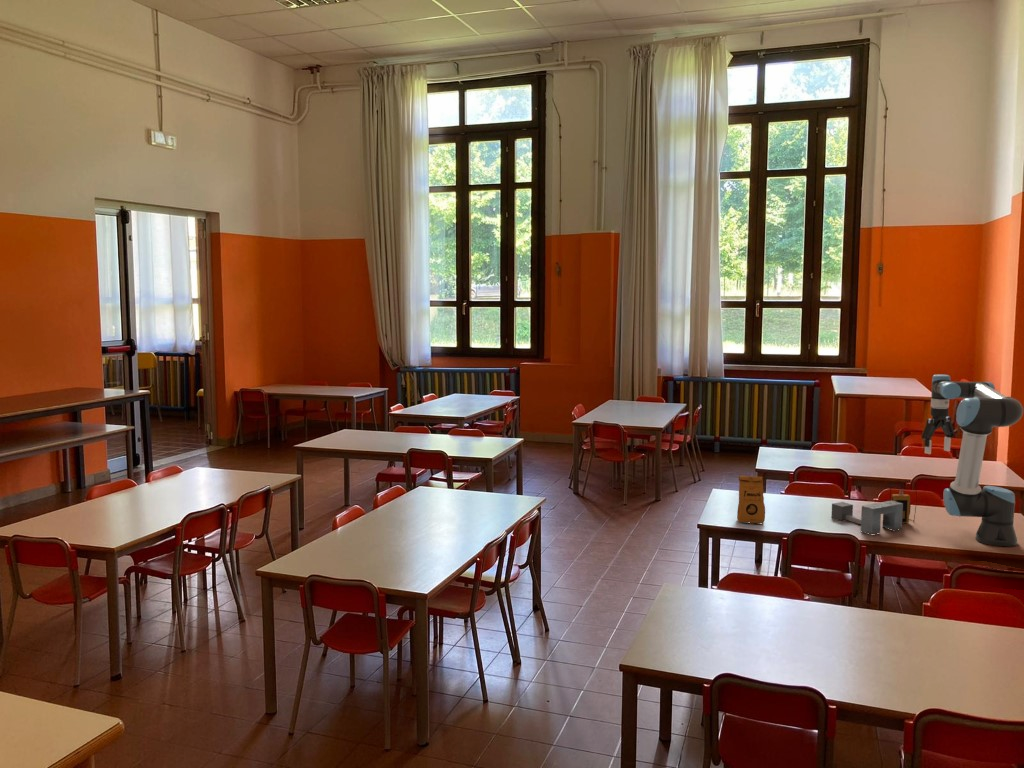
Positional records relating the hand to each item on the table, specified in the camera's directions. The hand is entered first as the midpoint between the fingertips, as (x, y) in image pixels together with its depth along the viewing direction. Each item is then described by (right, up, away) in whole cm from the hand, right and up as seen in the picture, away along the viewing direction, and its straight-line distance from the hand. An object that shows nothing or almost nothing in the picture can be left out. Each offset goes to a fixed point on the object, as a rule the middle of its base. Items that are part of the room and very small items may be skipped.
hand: (937, 452), depth 377 cm
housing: (-35, -34, -19) cm, 52 cm away
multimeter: (-21, -32, -3) cm, 38 cm away
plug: (-42, -32, -6) cm, 53 cm away
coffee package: (-89, -33, -4) cm, 95 cm away
